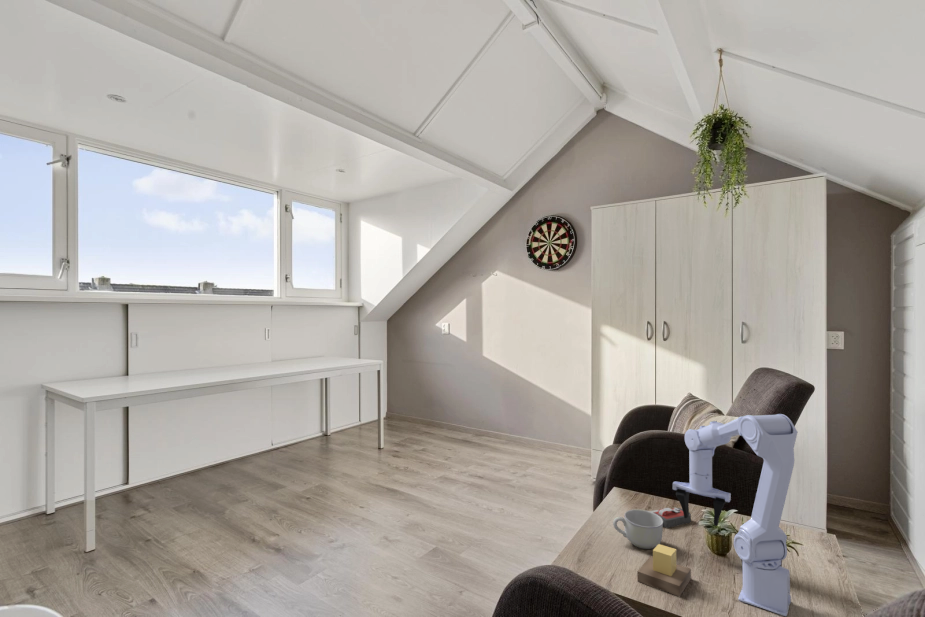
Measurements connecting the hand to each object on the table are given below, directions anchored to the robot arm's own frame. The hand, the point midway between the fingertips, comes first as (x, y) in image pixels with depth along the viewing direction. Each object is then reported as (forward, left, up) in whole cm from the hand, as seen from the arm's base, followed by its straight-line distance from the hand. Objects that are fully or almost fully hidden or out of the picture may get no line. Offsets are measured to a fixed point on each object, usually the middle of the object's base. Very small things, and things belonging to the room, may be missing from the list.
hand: (701, 520), depth 132 cm
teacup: (+16, +5, -10) cm, 19 cm away
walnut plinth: (+4, +20, -9) cm, 22 cm away
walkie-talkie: (+15, -15, -10) cm, 24 cm away
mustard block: (+4, +20, -7) cm, 21 cm away
